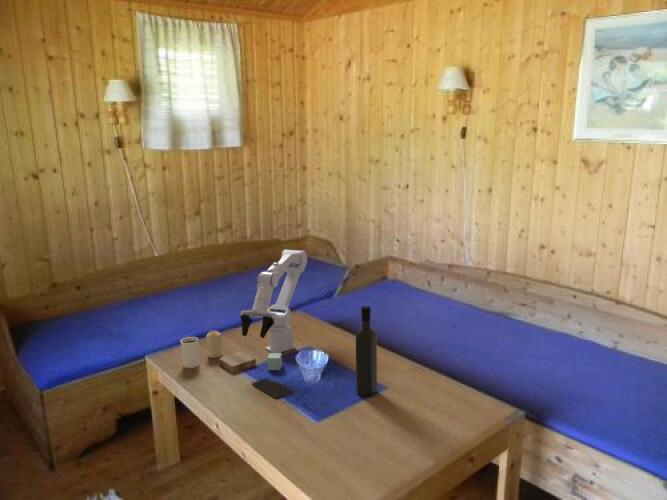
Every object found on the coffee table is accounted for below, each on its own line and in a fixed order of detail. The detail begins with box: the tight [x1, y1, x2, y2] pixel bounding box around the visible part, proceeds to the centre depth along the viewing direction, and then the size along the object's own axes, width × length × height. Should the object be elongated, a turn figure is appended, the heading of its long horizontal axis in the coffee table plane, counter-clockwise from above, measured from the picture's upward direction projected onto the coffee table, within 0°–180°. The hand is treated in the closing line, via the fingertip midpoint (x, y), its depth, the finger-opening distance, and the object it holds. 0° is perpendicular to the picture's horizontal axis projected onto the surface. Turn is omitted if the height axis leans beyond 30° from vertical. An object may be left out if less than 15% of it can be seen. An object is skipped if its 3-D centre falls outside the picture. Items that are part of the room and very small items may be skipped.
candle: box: [206, 329, 223, 359], centre depth 215 cm, size 6×6×10 cm
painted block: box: [266, 352, 283, 371], centre depth 203 cm, size 4×4×5 cm
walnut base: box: [218, 350, 257, 374], centre depth 207 cm, size 10×10×3 cm
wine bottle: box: [355, 305, 378, 398], centre depth 180 cm, size 6×6×30 cm
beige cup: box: [180, 336, 200, 369], centre depth 207 cm, size 7×7×10 cm
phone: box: [251, 377, 293, 400], centre depth 188 cm, size 7×1×15 cm
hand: (252, 336), depth 200 cm, fingers open, 7 cm apart
